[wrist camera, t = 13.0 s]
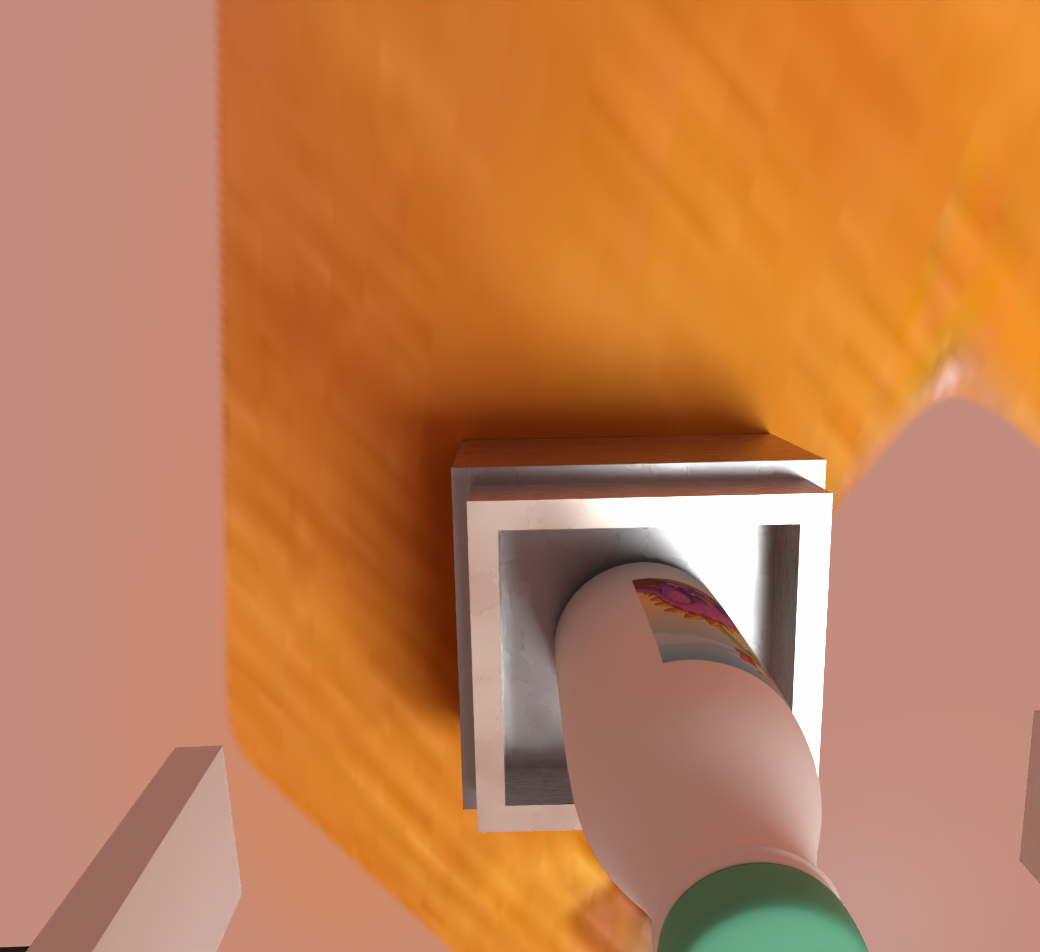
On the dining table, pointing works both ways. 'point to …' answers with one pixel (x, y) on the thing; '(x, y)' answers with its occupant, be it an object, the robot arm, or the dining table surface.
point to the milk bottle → (692, 770)
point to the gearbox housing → (610, 543)
